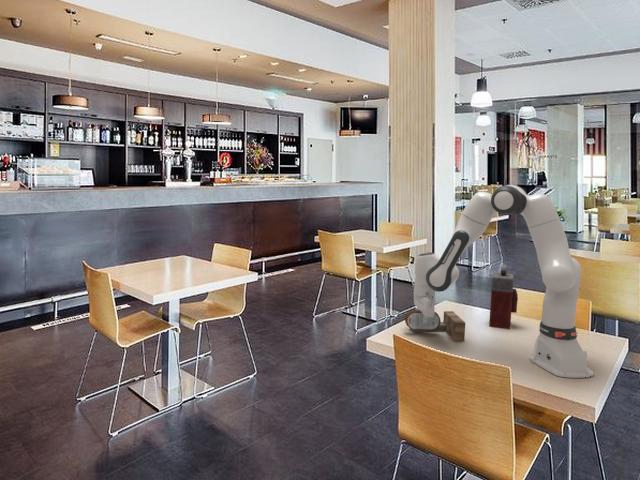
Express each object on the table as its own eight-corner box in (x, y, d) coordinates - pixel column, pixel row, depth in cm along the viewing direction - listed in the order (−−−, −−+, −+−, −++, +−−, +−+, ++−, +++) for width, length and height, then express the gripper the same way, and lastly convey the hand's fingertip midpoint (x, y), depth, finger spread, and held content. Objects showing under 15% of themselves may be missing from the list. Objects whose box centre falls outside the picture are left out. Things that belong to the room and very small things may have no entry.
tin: (439, 329, 210) (440, 310, 210) (440, 331, 207) (441, 311, 207) (404, 328, 211) (405, 309, 211) (405, 330, 208) (406, 310, 207)
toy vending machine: (515, 329, 216) (520, 268, 212) (489, 326, 220) (493, 266, 216) (515, 323, 225) (520, 264, 220) (490, 320, 229) (494, 262, 224)
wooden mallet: (464, 341, 201) (465, 322, 200) (419, 341, 200) (419, 323, 199) (451, 328, 217) (452, 311, 216) (409, 328, 216) (410, 311, 215)
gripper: (439, 296, 197) (437, 329, 199) (425, 284, 217) (424, 314, 219) (423, 296, 196) (422, 329, 199) (411, 284, 217) (410, 314, 219)
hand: (423, 321), depth 209 cm, fingers closed on tin, 3 cm apart
